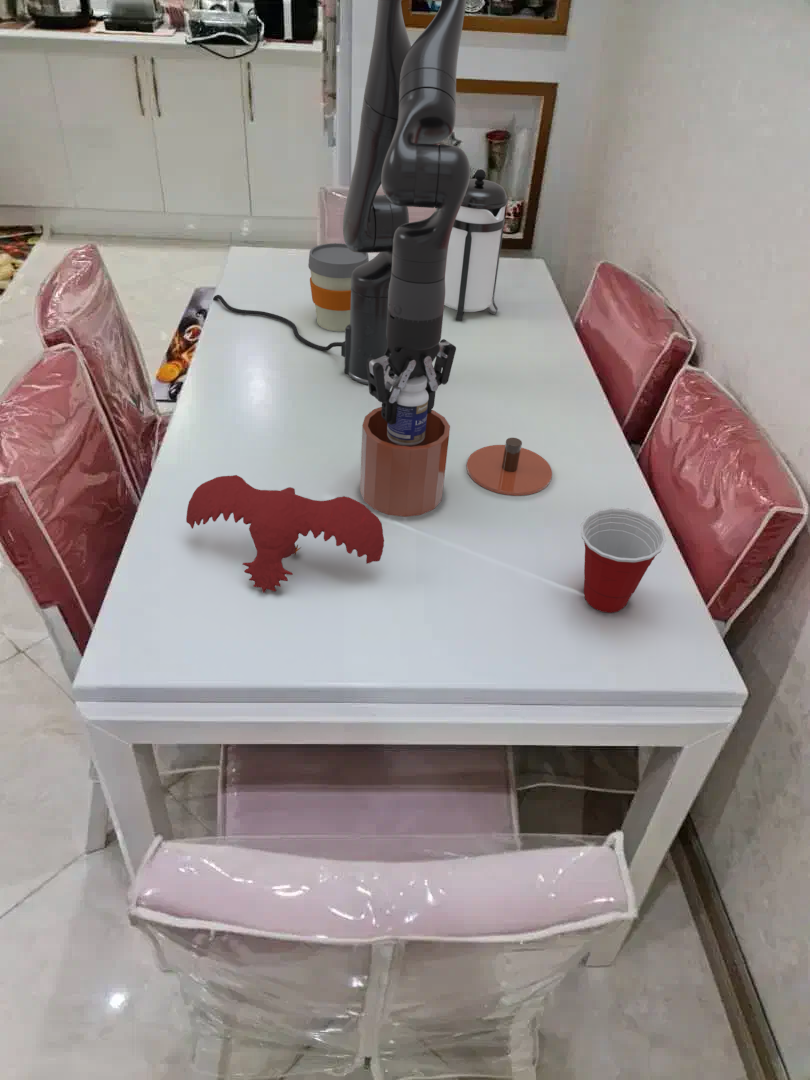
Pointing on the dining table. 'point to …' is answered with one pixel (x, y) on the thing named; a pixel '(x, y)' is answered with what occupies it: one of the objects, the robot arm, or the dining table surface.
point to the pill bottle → (410, 413)
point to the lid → (509, 469)
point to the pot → (403, 467)
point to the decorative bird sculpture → (285, 523)
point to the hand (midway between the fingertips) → (407, 416)
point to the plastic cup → (617, 555)
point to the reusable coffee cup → (333, 283)
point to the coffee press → (475, 247)
